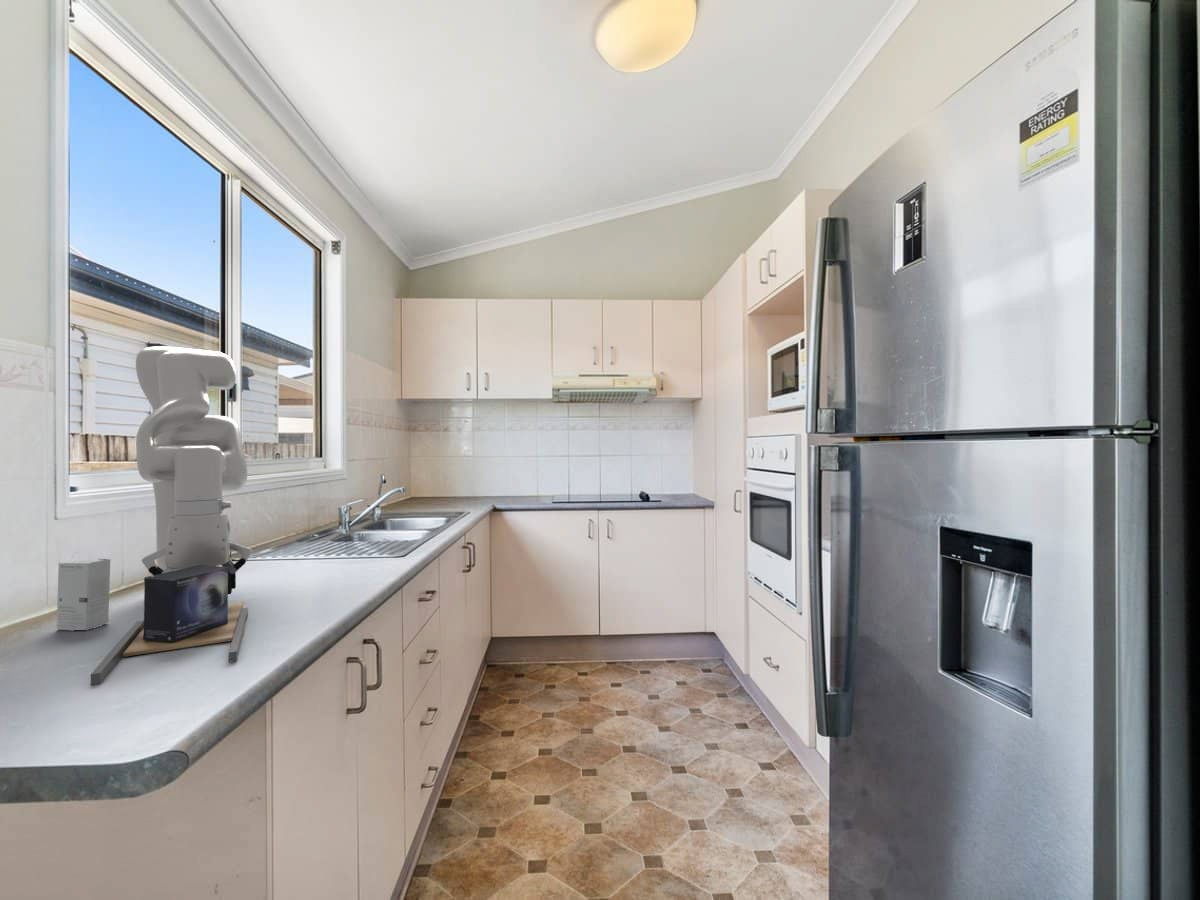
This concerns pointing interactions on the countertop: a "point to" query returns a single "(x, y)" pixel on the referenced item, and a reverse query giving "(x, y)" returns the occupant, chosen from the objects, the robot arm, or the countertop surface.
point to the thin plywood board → (203, 638)
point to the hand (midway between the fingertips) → (199, 596)
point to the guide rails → (129, 637)
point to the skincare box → (83, 593)
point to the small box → (185, 602)
